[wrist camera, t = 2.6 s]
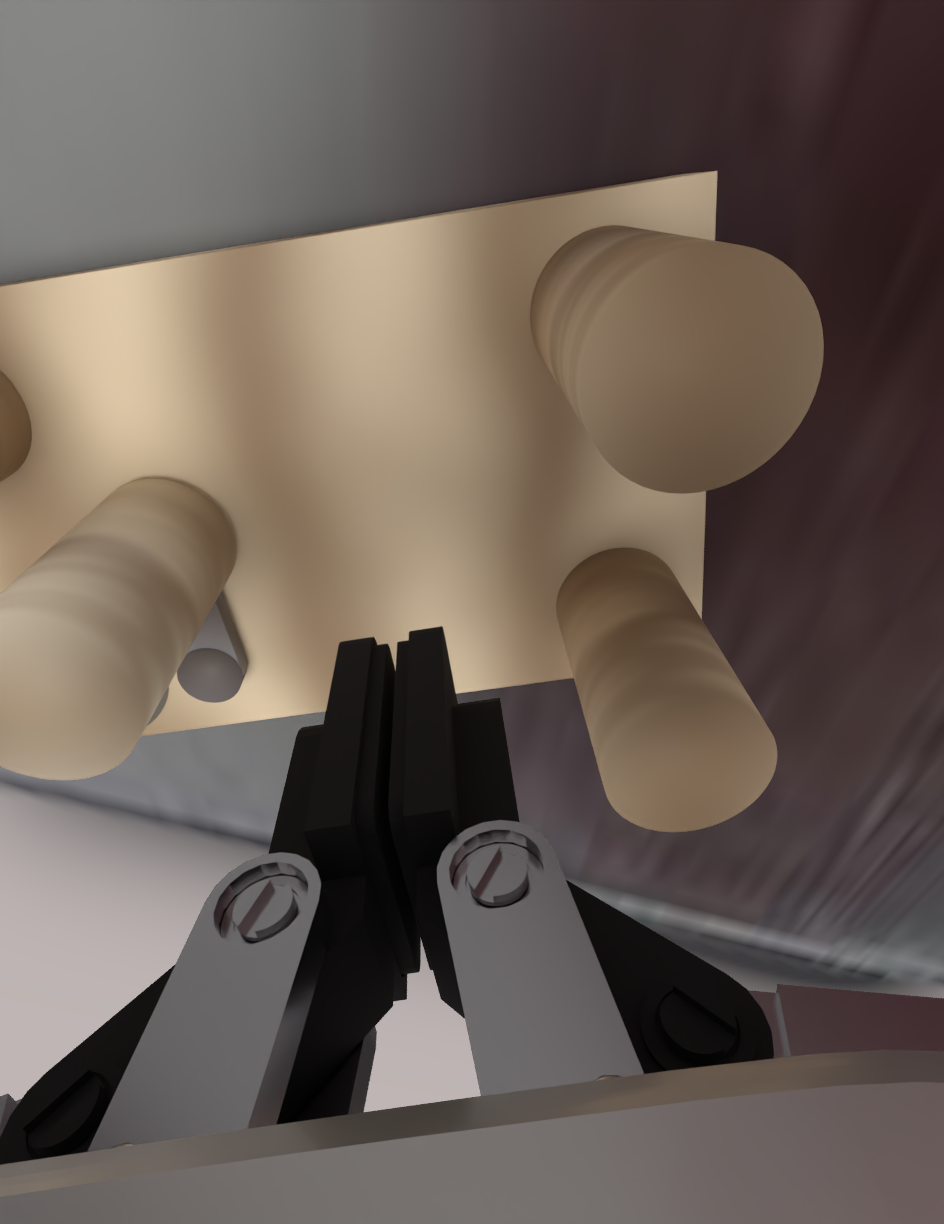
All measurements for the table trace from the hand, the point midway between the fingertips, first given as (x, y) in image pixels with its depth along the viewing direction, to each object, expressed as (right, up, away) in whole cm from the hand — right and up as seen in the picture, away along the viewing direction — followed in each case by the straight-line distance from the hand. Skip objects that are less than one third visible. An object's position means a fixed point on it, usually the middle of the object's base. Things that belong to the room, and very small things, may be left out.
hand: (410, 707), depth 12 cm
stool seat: (-3, +5, +9) cm, 11 cm away
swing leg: (-7, +2, +8) cm, 11 cm away
